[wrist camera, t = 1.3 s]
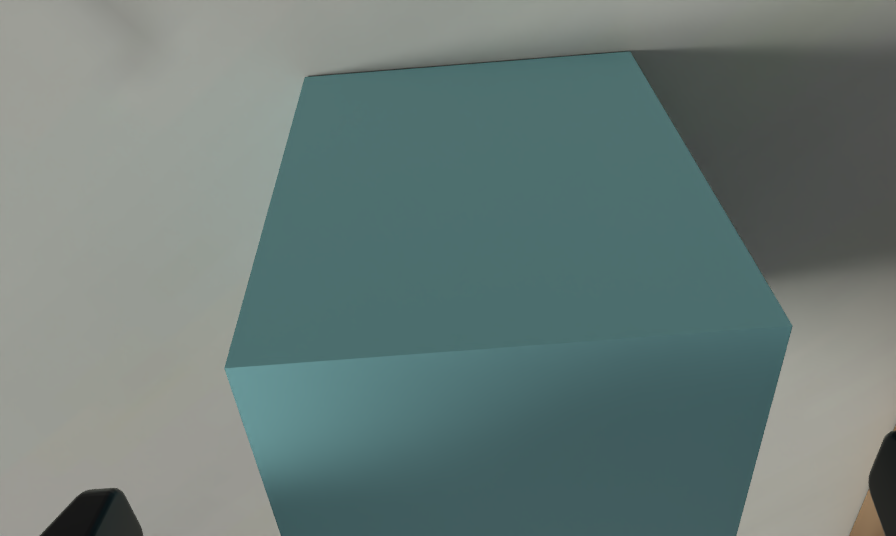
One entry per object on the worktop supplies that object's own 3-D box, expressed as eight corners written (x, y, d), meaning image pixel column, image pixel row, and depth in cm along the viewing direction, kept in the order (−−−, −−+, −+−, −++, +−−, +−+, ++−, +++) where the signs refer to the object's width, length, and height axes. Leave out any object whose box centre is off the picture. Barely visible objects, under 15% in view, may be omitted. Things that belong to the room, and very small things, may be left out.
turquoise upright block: (610, 302, 15) (713, 622, 10) (351, 321, 15) (319, 649, 10) (630, 51, 12) (792, 326, 7) (304, 77, 12) (224, 368, 7)
